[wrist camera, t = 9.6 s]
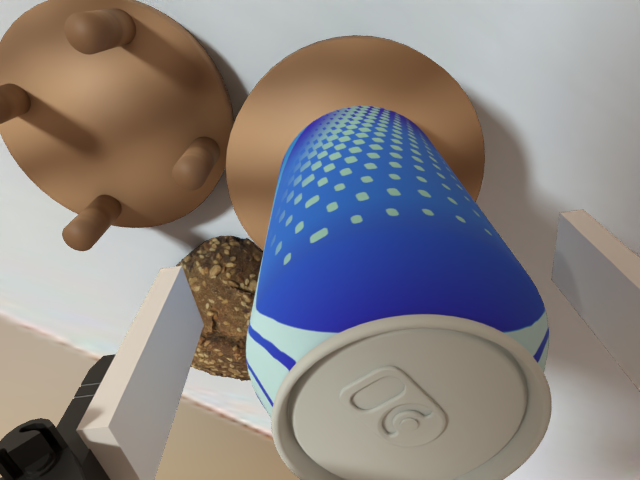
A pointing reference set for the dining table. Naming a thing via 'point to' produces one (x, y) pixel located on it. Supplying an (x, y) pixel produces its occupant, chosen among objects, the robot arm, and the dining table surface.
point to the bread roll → (223, 302)
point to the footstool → (336, 93)
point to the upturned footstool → (112, 113)
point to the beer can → (392, 315)
